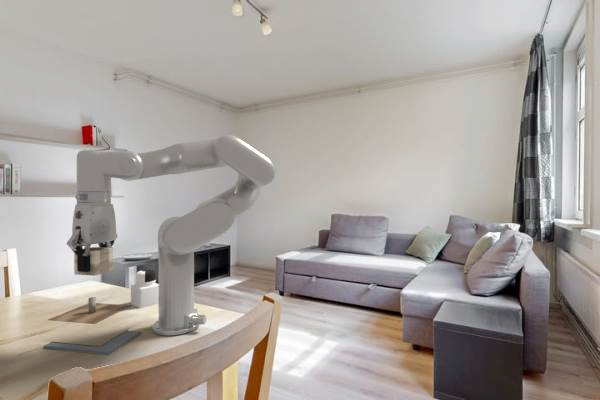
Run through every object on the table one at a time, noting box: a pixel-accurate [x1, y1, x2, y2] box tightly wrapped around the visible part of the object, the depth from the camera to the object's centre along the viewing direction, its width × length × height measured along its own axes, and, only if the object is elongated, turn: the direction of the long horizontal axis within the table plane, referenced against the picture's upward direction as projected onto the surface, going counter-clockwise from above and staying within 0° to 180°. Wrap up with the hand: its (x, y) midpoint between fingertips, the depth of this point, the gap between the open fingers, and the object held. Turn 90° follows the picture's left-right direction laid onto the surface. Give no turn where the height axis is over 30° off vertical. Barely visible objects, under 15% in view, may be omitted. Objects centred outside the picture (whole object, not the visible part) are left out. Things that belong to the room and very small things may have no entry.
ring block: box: [73, 246, 114, 276], centre depth 86 cm, size 6×6×6 cm
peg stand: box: [47, 296, 133, 325], centre depth 104 cm, size 16×16×5 cm
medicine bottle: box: [130, 269, 159, 309], centre depth 113 cm, size 7×7×12 cm
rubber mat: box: [43, 330, 142, 355], centre depth 86 cm, size 18×12×1 cm, turn 80°
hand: (94, 267), depth 86 cm, fingers closed on ring block, 6 cm apart
